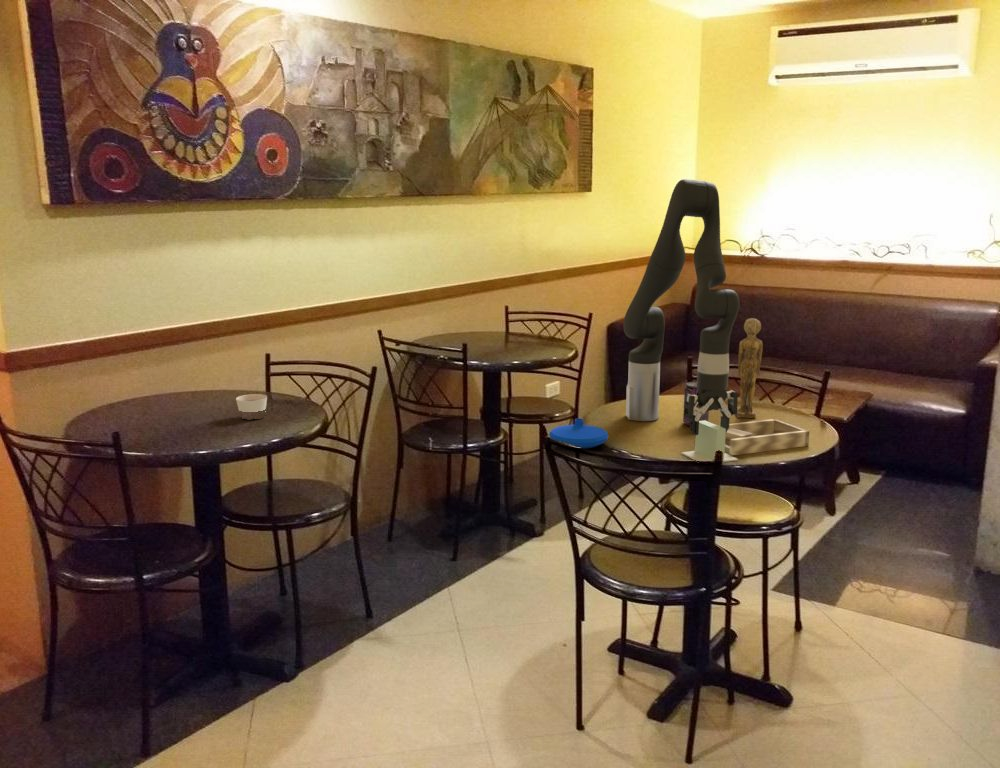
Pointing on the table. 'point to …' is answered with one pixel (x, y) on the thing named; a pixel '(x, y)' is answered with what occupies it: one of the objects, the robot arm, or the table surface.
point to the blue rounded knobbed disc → (579, 434)
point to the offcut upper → (736, 434)
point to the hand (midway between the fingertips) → (709, 432)
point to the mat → (701, 457)
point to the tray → (767, 437)
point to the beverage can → (692, 390)
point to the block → (710, 439)
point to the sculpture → (749, 366)
